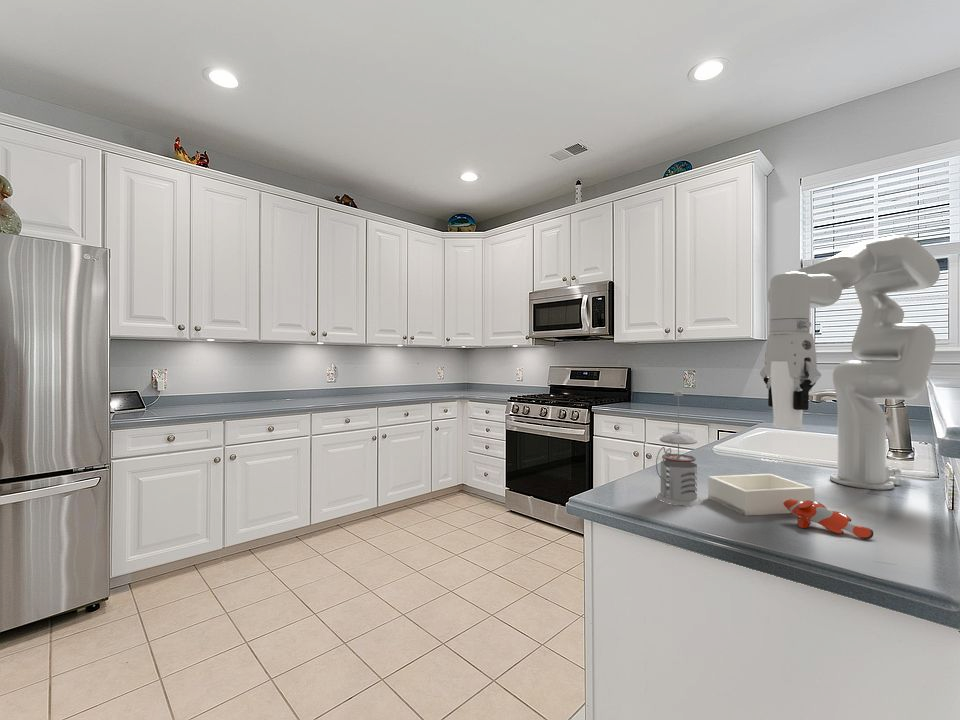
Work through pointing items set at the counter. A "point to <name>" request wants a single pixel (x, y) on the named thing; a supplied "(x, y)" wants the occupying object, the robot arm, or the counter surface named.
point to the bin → (757, 493)
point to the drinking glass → (784, 397)
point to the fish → (824, 518)
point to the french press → (678, 470)
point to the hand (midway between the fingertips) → (787, 407)
